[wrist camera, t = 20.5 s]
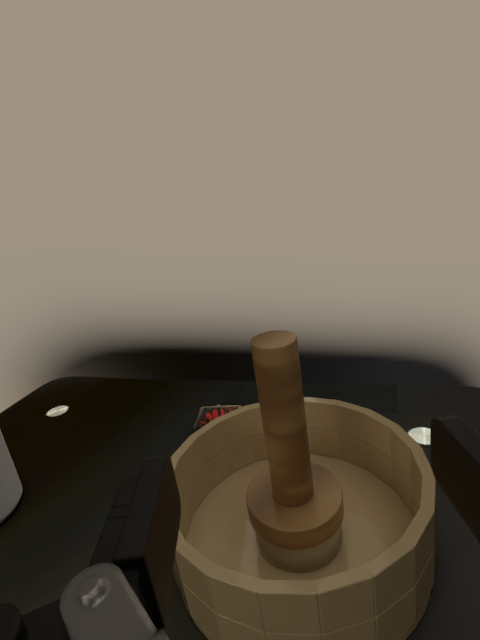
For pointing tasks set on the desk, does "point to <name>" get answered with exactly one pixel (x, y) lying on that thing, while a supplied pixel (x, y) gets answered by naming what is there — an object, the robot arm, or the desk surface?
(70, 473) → the desk surface
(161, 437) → the desk surface
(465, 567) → the desk surface
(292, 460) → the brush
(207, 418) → the small printed card
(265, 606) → the bowl
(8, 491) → the can
